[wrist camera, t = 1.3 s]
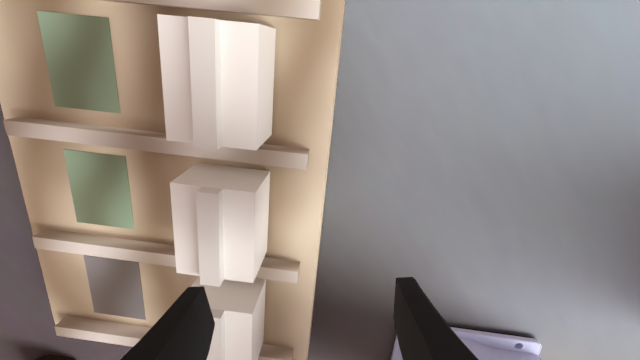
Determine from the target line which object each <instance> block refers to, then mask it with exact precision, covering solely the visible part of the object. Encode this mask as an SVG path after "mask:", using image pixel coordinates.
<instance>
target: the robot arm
mask: <svg viewBox="0 0 640 360" xmlns="http://www.w3.org/2000/svg"><path fill="white" fill-rule="evenodd" d="M394 321H395V327H396V333H397V335H396V339H395V343H394V348H393V352H392V357H391V360H541V359H540V358H539V356H538V355H539V353H540V351H541V347H542V346H541V344H540V343H539V341H538V340H537V339H534V338H526V337H519V336H512V335H504V334H497V333H490V332H483V331H475V330H468V329H461V328H453V327H450V326H449V325H448V324H447V323H446V321H445V320H444V319H443V318H442V316H441V315H440V314H439V313H438V311H437V310H436V309H435V307H434V306H433V305H432V303H431V302H430V300H429V299H428V298H427V296H426V295H425V293H424V292H423V291H422V289H421V288H420V286H419V285H418V283H417V281H416V280H415V279H414V278H413V277H406V278H396V286H395V303H394ZM214 326H215V322H214V318H213V315H212V312H211V308H210V305H209V302H208V298H207V295H206V292H205V288H204V286H200V287H188V288H187V289H186V290H185V291H184V292H183V293H182V294H181V295H180V296H179V297H178V299H177V300H176V301H175V302H174V303H173V304H172V305H171V307H170V308H169V309H168V310H167V311H166V312H165V313H164V314H163V316H162V317H161V318H160V319H159V320H158V321H157V322H156V323H155V324H154V325H153V327H152V328H151V329H150V330H149V331H148V332H147V333H146V334H145V335H144V336H143V337H142V338H141V340H140V341H139V342H138V343H137V344H136V345H135V346H134V347H133V348H132V349H131V350H130V351H129V352H128V353H127V354H126V355H125V356H124V357H123V358H122V359H121V360H207V356H208V353H209V350H210V345H211V341H212V336H213V331H214ZM517 343H519V344H517Z"/></svg>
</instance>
